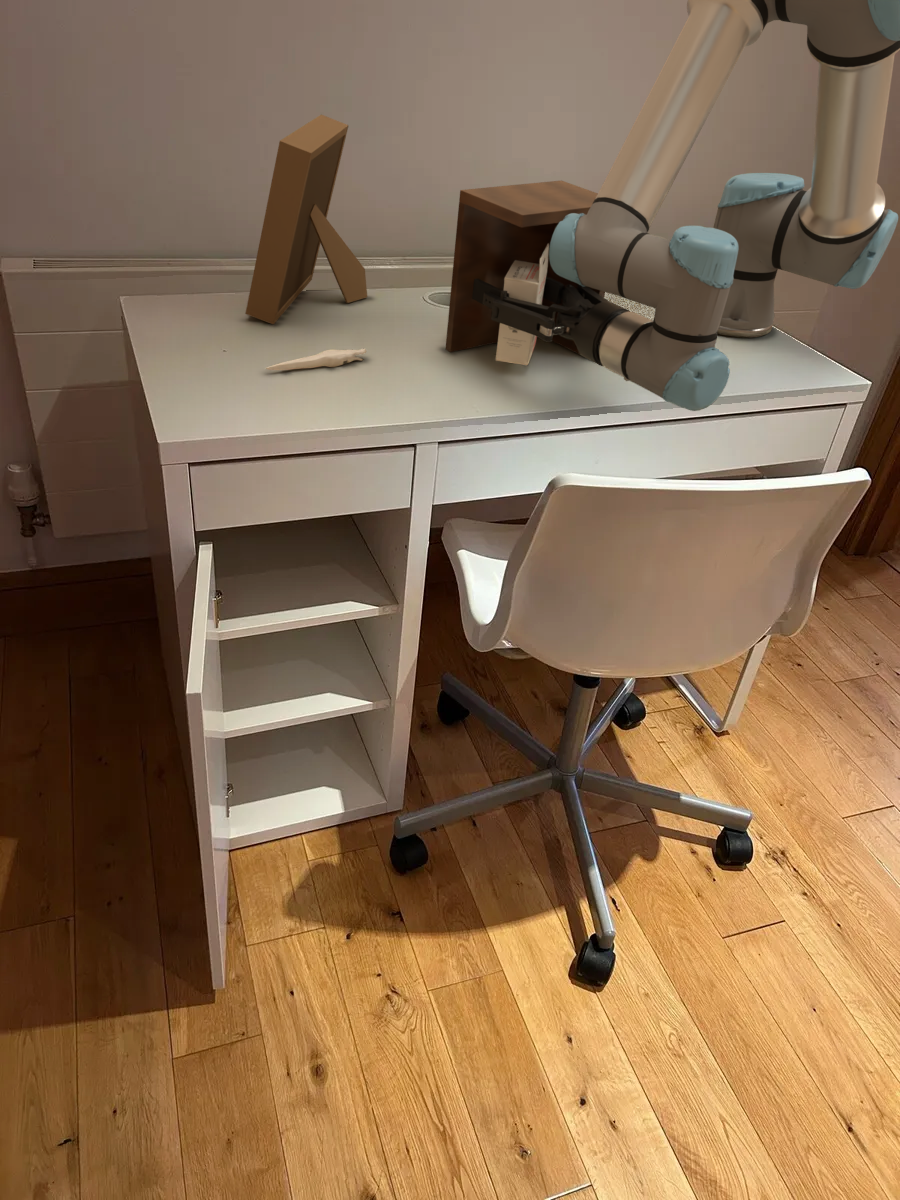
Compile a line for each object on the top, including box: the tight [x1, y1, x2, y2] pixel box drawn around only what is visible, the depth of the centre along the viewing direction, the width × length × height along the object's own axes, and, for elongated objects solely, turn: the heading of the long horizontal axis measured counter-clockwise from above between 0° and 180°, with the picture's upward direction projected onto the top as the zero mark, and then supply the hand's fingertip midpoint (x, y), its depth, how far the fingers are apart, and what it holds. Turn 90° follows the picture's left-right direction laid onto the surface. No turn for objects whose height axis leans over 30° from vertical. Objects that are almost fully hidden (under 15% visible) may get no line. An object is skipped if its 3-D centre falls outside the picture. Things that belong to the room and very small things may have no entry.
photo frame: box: [245, 114, 368, 325], centre depth 137 cm, size 15×22×25 cm
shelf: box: [445, 179, 606, 357], centre depth 130 cm, size 19×12×22 cm
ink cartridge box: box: [495, 244, 549, 366], centre depth 128 cm, size 9×5×15 cm, turn 168°
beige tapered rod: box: [265, 348, 367, 371], centre depth 125 cm, size 15×3×2 cm, turn 123°
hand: (502, 284), depth 130 cm, fingers closed on ink cartridge box, 9 cm apart
